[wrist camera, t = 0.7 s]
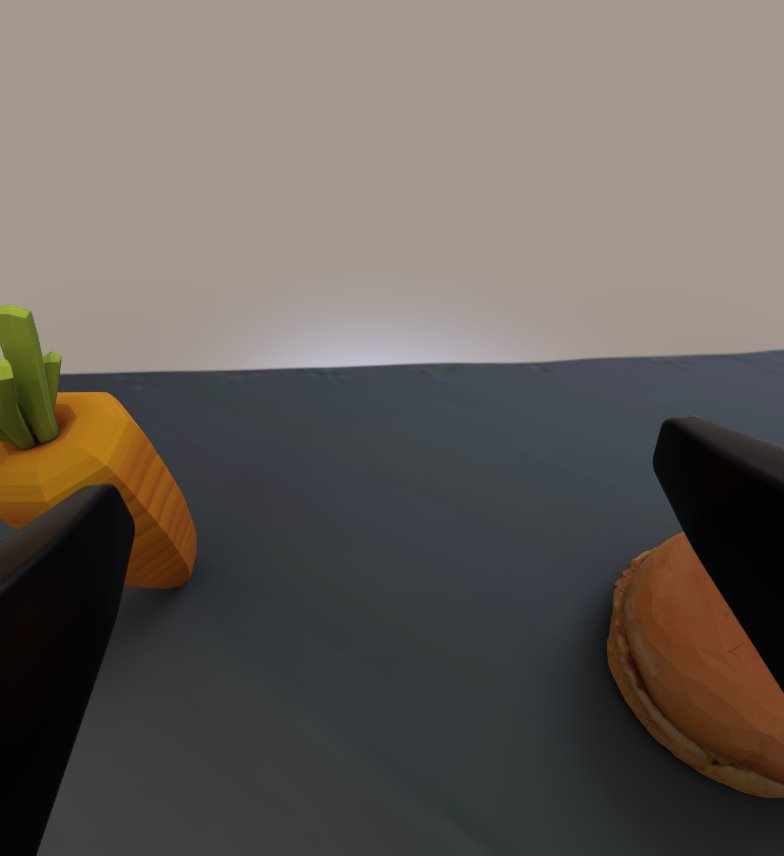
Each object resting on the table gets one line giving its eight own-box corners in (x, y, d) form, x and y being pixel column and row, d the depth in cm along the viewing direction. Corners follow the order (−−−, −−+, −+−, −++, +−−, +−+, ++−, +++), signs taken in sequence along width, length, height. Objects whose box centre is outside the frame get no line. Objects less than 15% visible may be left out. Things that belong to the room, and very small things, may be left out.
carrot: (131, 649, 22) (-207, 438, 10) (129, 552, 25) (-133, 305, 13) (242, 607, 23) (47, 369, 11) (227, 519, 26) (61, 260, 14)
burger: (601, 757, 18) (644, 737, 15) (603, 535, 24) (634, 481, 20) (919, 852, 16) (1059, 856, 13) (838, 584, 22) (919, 534, 18)
